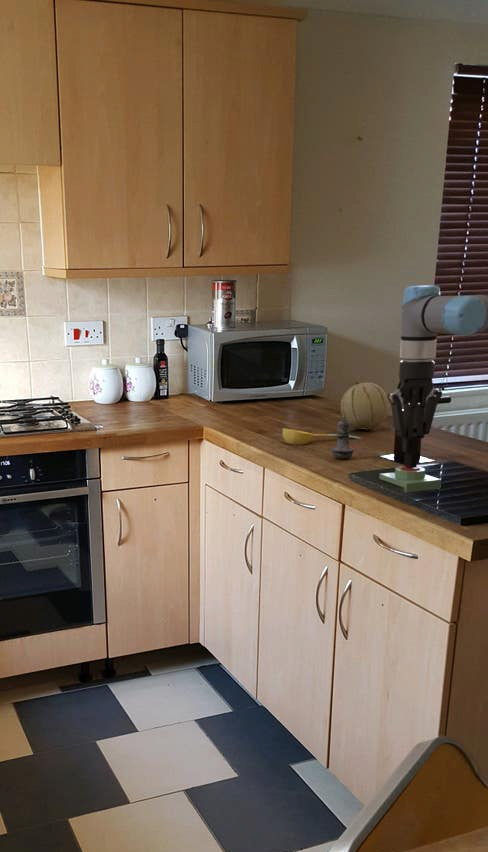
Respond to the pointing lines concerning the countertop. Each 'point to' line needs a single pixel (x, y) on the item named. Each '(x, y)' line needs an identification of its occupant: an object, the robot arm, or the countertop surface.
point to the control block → (411, 480)
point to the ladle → (302, 436)
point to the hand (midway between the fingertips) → (410, 466)
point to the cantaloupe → (365, 405)
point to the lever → (444, 400)
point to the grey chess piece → (343, 441)
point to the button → (410, 468)
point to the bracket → (403, 453)
